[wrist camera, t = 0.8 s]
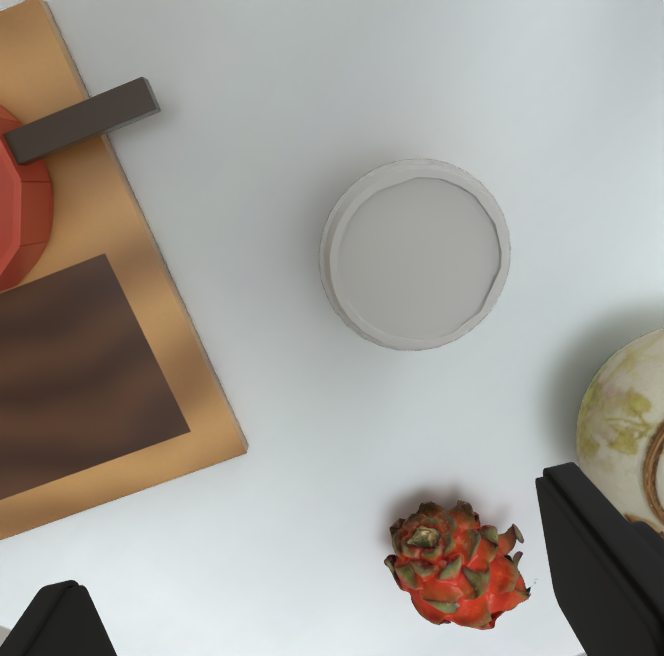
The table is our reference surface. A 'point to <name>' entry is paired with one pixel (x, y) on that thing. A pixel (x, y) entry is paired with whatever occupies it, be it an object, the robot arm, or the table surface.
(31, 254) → the skillet
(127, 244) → the board
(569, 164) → the table surface
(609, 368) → the sugar bowl
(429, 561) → the dragon fruit
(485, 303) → the disposable coffee cup
